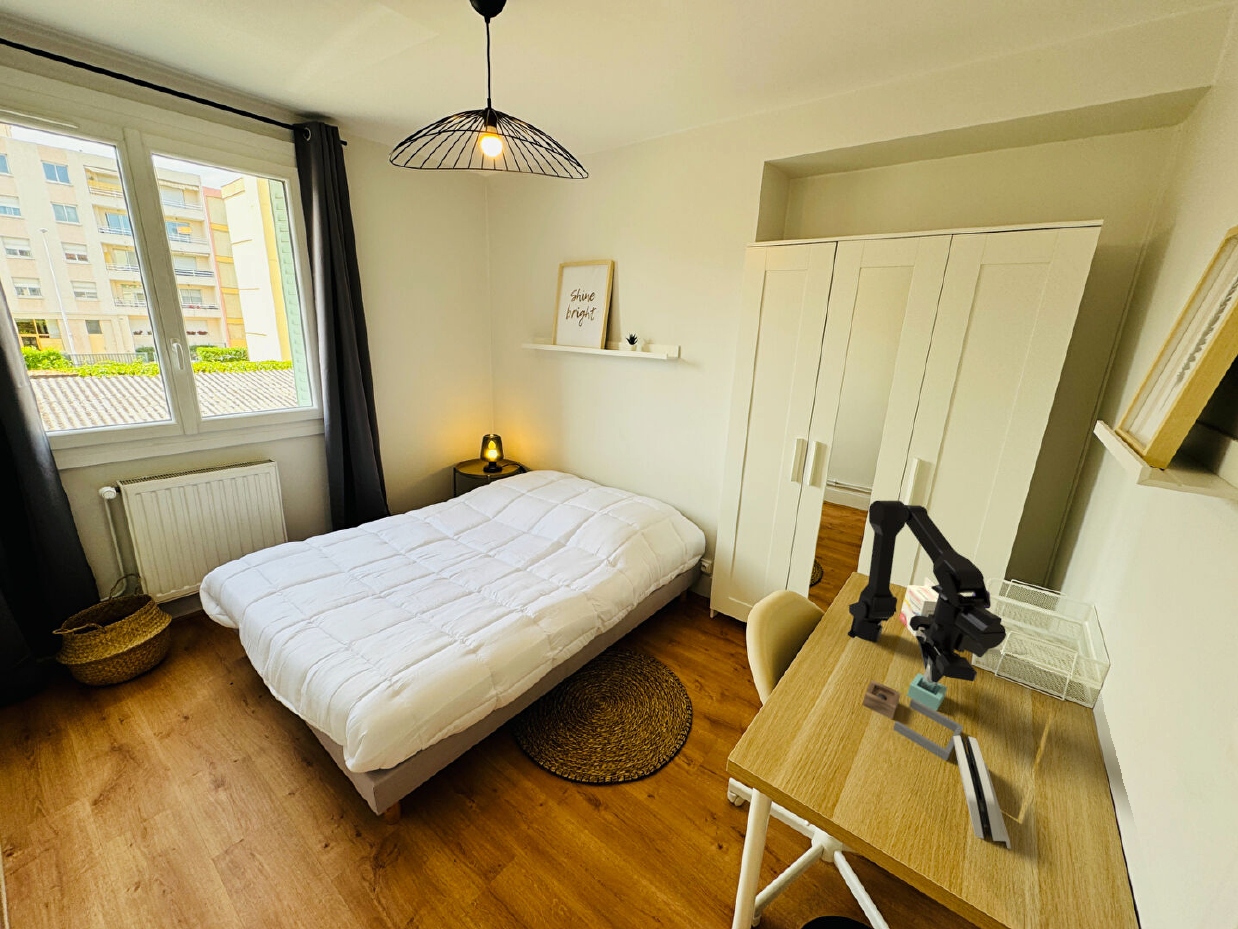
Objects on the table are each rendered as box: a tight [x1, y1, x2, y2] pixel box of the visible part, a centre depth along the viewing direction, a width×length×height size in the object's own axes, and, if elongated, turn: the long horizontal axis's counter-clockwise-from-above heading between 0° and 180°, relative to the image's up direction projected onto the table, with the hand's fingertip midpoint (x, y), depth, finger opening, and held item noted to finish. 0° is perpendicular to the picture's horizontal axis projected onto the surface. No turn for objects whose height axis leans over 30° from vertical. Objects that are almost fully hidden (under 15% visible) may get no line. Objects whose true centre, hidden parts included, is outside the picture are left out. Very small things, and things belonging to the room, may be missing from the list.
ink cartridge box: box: [898, 576, 939, 638], centre depth 135 cm, size 9×5×15 cm, turn 179°
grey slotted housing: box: [952, 735, 1012, 850], centre depth 86 cm, size 17×5×10 cm, turn 154°
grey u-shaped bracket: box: [892, 698, 964, 762], centre depth 101 cm, size 10×11×2 cm
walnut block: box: [862, 679, 902, 720], centre depth 107 cm, size 6×6×4 cm
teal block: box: [906, 672, 948, 712], centre depth 110 cm, size 6×6×4 cm
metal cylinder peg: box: [921, 658, 939, 694], centre depth 109 cm, size 3×3×9 cm
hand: (931, 677), depth 109 cm, fingers closed on metal cylinder peg, 3 cm apart
